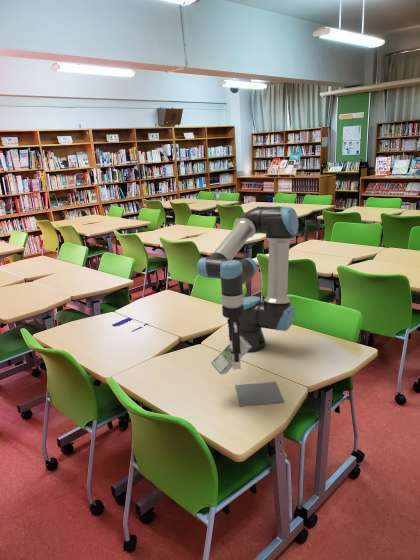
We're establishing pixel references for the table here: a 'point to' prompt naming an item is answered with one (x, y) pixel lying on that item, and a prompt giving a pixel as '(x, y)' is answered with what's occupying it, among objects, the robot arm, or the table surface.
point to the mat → (258, 394)
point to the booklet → (125, 322)
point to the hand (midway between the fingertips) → (235, 363)
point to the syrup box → (229, 356)
